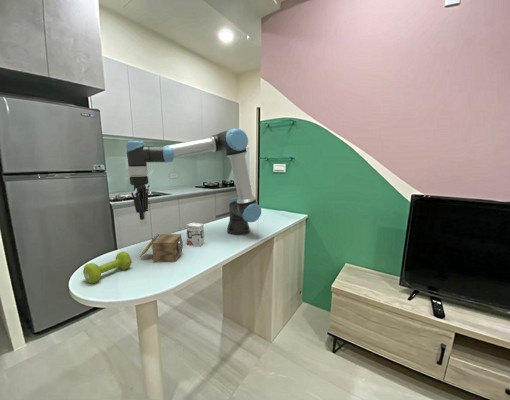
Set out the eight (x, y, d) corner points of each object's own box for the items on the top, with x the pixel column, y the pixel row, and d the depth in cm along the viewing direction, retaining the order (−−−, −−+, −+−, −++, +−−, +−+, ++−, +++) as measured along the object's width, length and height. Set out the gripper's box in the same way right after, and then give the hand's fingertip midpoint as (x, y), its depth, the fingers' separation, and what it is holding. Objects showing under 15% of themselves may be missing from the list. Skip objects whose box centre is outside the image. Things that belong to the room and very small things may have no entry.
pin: (182, 248, 112) (182, 238, 111) (179, 253, 106) (179, 242, 105) (157, 249, 111) (157, 238, 110) (153, 254, 106) (152, 242, 105)
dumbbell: (92, 286, 83) (90, 268, 82) (81, 281, 87) (79, 264, 86) (134, 268, 97) (132, 253, 96) (123, 264, 101) (122, 249, 100)
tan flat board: (159, 234, 111) (157, 233, 110) (154, 239, 104) (152, 238, 104) (147, 251, 112) (145, 250, 111) (140, 257, 105) (139, 256, 105)
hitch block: (182, 251, 115) (181, 234, 114) (175, 261, 104) (174, 242, 102) (162, 251, 115) (161, 234, 113) (153, 262, 103) (152, 242, 101)
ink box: (186, 244, 125) (185, 224, 122) (191, 241, 129) (190, 222, 127) (200, 246, 122) (199, 226, 120) (204, 243, 127) (204, 223, 125)
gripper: (136, 174, 108) (141, 221, 112) (122, 177, 95) (129, 229, 99) (152, 174, 108) (157, 221, 113) (140, 176, 95) (146, 229, 100)
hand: (144, 225), depth 106 cm, fingers closed
